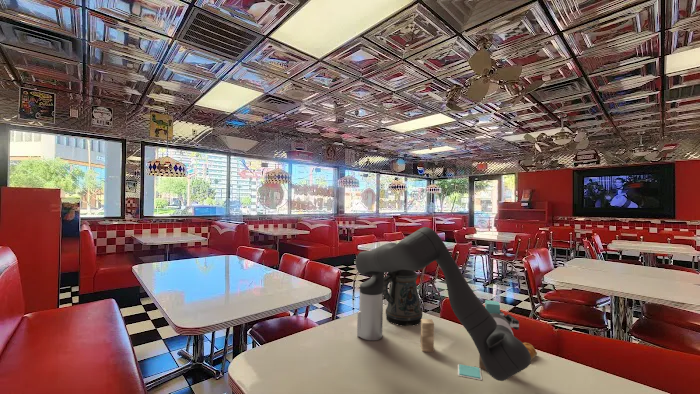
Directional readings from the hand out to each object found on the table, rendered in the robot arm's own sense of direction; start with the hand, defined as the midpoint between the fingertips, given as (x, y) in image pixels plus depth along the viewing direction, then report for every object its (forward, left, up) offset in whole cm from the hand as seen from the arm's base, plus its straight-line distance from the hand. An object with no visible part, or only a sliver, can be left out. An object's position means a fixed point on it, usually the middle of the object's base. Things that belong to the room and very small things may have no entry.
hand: (491, 312), depth 104 cm
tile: (-7, -10, -16) cm, 20 cm away
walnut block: (0, -3, -17) cm, 17 cm away
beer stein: (-34, +25, -17) cm, 46 cm away
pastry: (+12, +9, -17) cm, 22 cm away
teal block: (0, -3, -6) cm, 7 cm away
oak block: (-21, +1, -17) cm, 27 cm away
